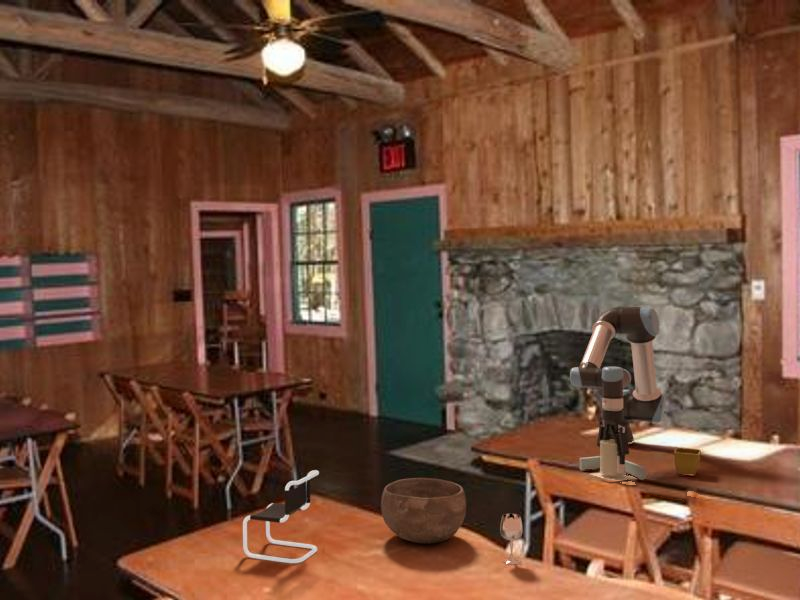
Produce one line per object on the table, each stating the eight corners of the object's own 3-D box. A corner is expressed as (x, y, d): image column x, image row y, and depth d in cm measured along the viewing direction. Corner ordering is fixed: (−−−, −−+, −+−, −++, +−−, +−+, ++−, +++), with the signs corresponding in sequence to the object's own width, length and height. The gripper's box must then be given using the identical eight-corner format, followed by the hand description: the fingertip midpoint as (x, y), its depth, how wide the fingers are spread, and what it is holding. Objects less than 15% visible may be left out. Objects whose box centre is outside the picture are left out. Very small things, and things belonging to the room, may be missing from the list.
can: (595, 472, 292) (595, 440, 292) (607, 468, 299) (607, 436, 299) (618, 477, 286) (618, 444, 286) (630, 472, 293) (630, 439, 292)
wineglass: (498, 557, 211) (498, 513, 211) (519, 557, 212) (519, 512, 211) (503, 565, 206) (502, 520, 205) (525, 565, 206) (524, 519, 206)
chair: (299, 565, 208) (298, 481, 207) (242, 557, 214) (241, 476, 213) (322, 549, 220) (321, 470, 219) (267, 541, 226) (266, 465, 225)
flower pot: (701, 473, 298) (701, 449, 298) (699, 478, 290) (699, 454, 290) (676, 470, 302) (676, 447, 301) (673, 476, 294) (673, 452, 293)
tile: (616, 472, 300) (616, 470, 300) (636, 479, 289) (636, 478, 289) (589, 475, 296) (589, 473, 296) (608, 483, 285) (608, 481, 285)
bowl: (439, 560, 210) (439, 503, 210) (364, 544, 223) (363, 491, 223) (480, 534, 231) (479, 483, 230) (409, 521, 244) (408, 472, 243)
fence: (610, 466, 310) (610, 454, 309) (645, 479, 289) (645, 467, 289) (579, 469, 305) (579, 458, 305) (612, 483, 284) (612, 471, 284)
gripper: (587, 405, 301) (587, 464, 302) (621, 414, 280) (622, 477, 281) (604, 403, 303) (604, 462, 304) (639, 413, 283) (639, 475, 284)
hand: (612, 469), depth 293 cm, fingers open, 9 cm apart
